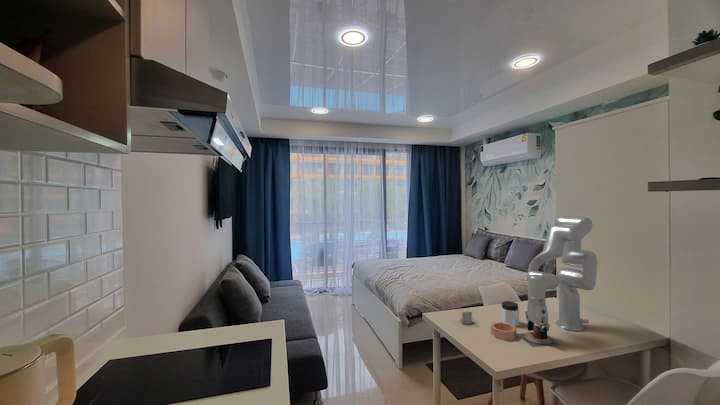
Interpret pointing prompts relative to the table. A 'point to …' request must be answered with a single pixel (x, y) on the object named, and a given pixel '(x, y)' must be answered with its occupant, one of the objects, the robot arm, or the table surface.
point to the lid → (536, 337)
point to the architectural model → (466, 318)
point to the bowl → (503, 331)
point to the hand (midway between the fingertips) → (537, 334)
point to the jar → (510, 313)
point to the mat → (537, 344)
